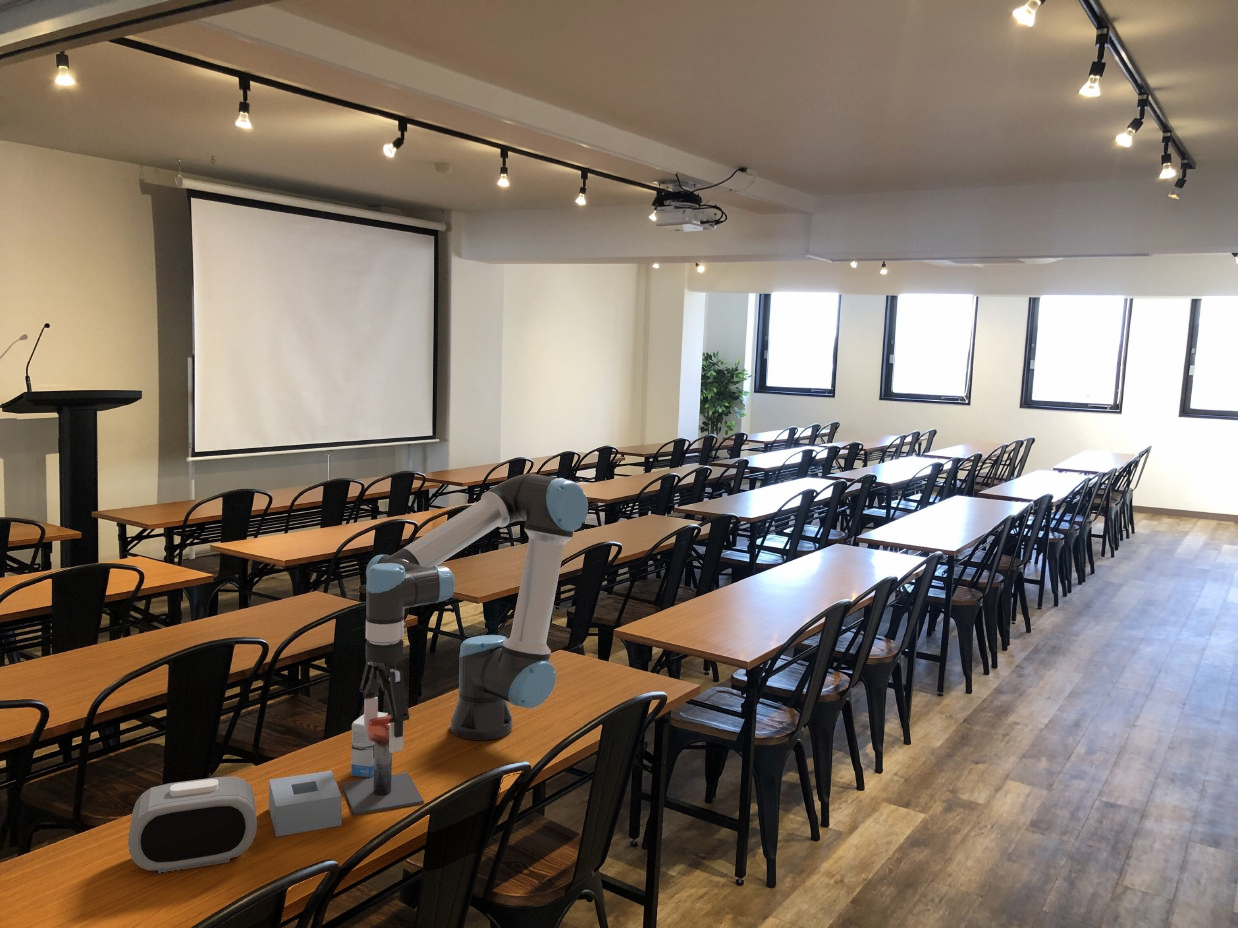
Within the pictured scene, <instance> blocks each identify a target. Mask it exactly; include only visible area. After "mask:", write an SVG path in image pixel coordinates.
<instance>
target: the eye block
mask: <svg viewBox="0 0 1238 928" xmlns="http://www.w3.org/2000/svg"><path fill="white" fill-rule="evenodd" d="M333 773H334V772H333V771H332V770H326V771H318V772H312V773H305V774H298V775H292V776H284V777H279V778H278V777H277V778H272V779H269V781H268V782H269V783H268V785H269V786H268V789H269V790H268V794H269V795H268V800H269V801H268V808H269V812H270V813H269V814H270V817H271V822H272V827H273V829H274V835H275V837H276V838H278V837H283V836H288V835H294V834H300V833H305V832H311V831H316V830H323V829H328V828H334V827H338V826H339V827H340V826H342V808H343V807H342V805H343V804H342V803H343V802H342V801H343V800H342V793H341V791H340V789H339V788H340V787H339V786H338V783H337V781H336V779H335V775H334V774H333Z"/></svg>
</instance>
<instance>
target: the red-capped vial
mask: <svg viewBox="0 0 1238 928" xmlns="http://www.w3.org/2000/svg"><path fill="white" fill-rule="evenodd" d="M390 719H392V718H391V715H388V716H386V717H377V718H373V719H370V720H369V722H368V739H369V740H370V741H373V742H374V775H373V778H374V788H373V793H374V794H375V795H380V796H382V795H387V794H389V793H391V778H392V775H393V773H392V771H393V769H392V768H393V753H390V752H389V727H390V723H389V720H390Z"/></svg>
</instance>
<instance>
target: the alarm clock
mask: <svg viewBox="0 0 1238 928" xmlns="http://www.w3.org/2000/svg"><path fill="white" fill-rule="evenodd" d="M257 819H258V818H257V809H256V800H255V792H254V789H253V787H252V785H251V784H250V783H249V782H248V781H247V780H245V779H244V778H241V777H239V776H218V777H217V776H216V777H208V778H202V779H194V780H186V781H177V782H169V783H165V784H161V785H157V786H153V787H152V786H151V787H150V788H149V789H147V790H145V791H144V792H143V793H141V795H140V796H139V797H138V799H137V800H136V801H135V804H134V807H133V809H132V814H131V819H130V820H131V821H130V825H129V833H128V839H127V846H128V852H129V855H130V857H131V860H132V862H134V863H135V865H137V866H138V868H141V869H144V870H146V871H149V872H151V871H153V872H154V871H157V873H158V874H162V873H161V872H164V873H167V872H166V871H171V872H175V871H174V870H177V871H181V870H180V869H183V870H188V869H194V868H201V867H206V866H207V867H208V866H212V865H213V866H214V865H218V864H225V863H230V861H231V859H234V858H237V857H239V856H241V855H243V854H244V853H245V852H246V851H248V849H249V848H250V846H252V844H253V842H254V840H255V837H256V834H257V828H258V821H257ZM193 867H194V868H193Z"/></svg>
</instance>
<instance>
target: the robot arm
mask: <svg viewBox="0 0 1238 928" xmlns="http://www.w3.org/2000/svg"><path fill="white" fill-rule="evenodd" d="M588 510H589V503H588V497H587V495H586V492H584V490H583V487H581V485H580V484H578V483H577V482H575V481H573V480H569V479H565V478H563V477H559V478H558V477H554V476H553V477H552V476H548V475H542V474H541V475H540V474H538V473H537V474H536V473H523V474H520V475H516V476H513V477H511V478H509V479H507V480H505V481H503V482H500V483H499V484H497V485H495V486H493V487H492V488H490V489H488V490H487V491H485V492H484V493H482V495H481V497H480V500H478V501H477V502H475V503H474V504H472V505H470V506H469V507H467V508H466V509H464V510H462V511H461V512H459V513H457V514H456V515H454V516H453V517H451V518H449V519H448V520H447V521H445V522H443V523H441V524H440V525H438V526H436V527H435V528H433V529H431V530H430V531H428V532H427V533H426V534H423V535H422V536H421V537H419V538H417V539H415V540H414V541H413V542H411V543H410V544H407V545H406V546H405V547H403V548H401V549H399V550H397V552H395V553H393V554H391V555H389V554H378V555H375V556H374V557H373V558H371V559H370V561H369V562H368V564H367V565H366V570H365V576H366V585H365V590H366V599H365V600H366V606H365V607H366V611H365V614H366V615H365V616H366V618H365V639H366V642H365V666H364V668H363V669H364V670H363V673H362V679H361V682H360V686H359V691H360V693H362V696H363V698H364V700H363V702H364V704H363V705H364V706H363V714H364V729H365V730H366V729H368V722H369V720H370V719H373V718H377V717H378V712H379V697H378V696H379V695H380V694H379V690H380V688H381V691H382V692H384V694H385V697H386V702H387V706H388V711H389V714H390V716H391V718H392V719H390V720H389V723H390V727H389V752H390V753H392V754H393V753H396V752H401V751H403V750H404V733H405V731H404V729H405V728H404V727H405V726H404V725H405V721H409V720H410V713H409V712H410V711H409V706H408V701H407V700H408V699H407V694H406V688H405V682H404V671H403V670H402V669H399V670H398V669H397V662H398V661H400V660H402V659H403V657H404V645H405V644H404V643H405V642H404V640H403V638H404V628H405V627H404V626H406V622H405V609H407V608H408V609H409V608H412V607H418V606H424V605H425V606H426V605H429V604H434V603H435V604H437V603H439V602H444V601H447V600H449V599H450V598H452V597H453V595H454V593H455V590H456V585H455V584H456V580H455V576H454V573H453V572H452V570H451V569H450V568H449V567H448V566H446V565H440V564H442V563H443V562H445V561H446V560H448V559H450V558H451V557H453V556H454V555H455V554H457V553H458V552H460V551H462V550H463V549H465V548H466V547H469V545H472V544H473V543H474V542H475V541H477V540H479V539H480V538H482V537H483V536H485V535H487V534H488V533H490V532H491V531H493V530H494V529H496V528H497V527H499V528H504V527H506V526H508V525H510V524H511V523H514V522H517V521H519V522H520V521H524V522H525V524H524V529H523V530H524V532H525V533H526V534H527V536H528V542H527V546H526V547H527V548H526V554H525V559H524V564H523V567H522V568H523V569H522V575H521V579H520V583H519V584H520V585H519V590H518V595H517V601H516V605H515V610H514V611H515V612H514V615H513V621H512V625H511V627H512V628H511V632H510V637H508V638H507V637H506V636H504V635H500V634H499V635H498V634H488V635H486V634H485V635H477V636H472V637H470V638H469V637H468V638H467V639H464V640H463V641H462V643H461V644H460V651H459V656H458V658H459V659H458V661H459V664H458V665H459V666H458V667H459V669H458V670H459V672H458V674H459V675H458V700H457V702H456V705H455V708H454V710H453V714H452V717H451V720H450V731H451V733H452V734H453V735H455V736H456V737H459V738H461V739H465V740H471V741H491V740H496V739H500V738H503V737H505V736H508V735H509V734H510V733H511V732H512V731H513V717H512V713H511V710H510V706H509V703H510V704H511V705H513V706H516V707H521V708H525V709H534V708H536V707H539V706H541V705H542V704H544V702H545V701H546V700H547V699H548V698H549V697H550V695H551V694H552V693H553V690H554V688H555V686H556V682H557V671H556V670H555V667H554V665H553V664H552V663H551V662H550V658H551V654H552V650H551V649H550V648H549V646H548V645H547V640H548V634H549V630H550V624H551V619H552V614H553V609H554V602H555V597H556V592H557V587H558V582H559V576H560V572H561V571H560V570H561V565H562V561H563V560H562V559H563V555H564V551H565V544H567V543H568V542H569V541H571V540H572V539H573V536H574V531H577V530H578V529H580V528H581V527H582V524H585V521H586V520H587V516H588V514H589V513H588V512H589V511H588Z"/></svg>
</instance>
